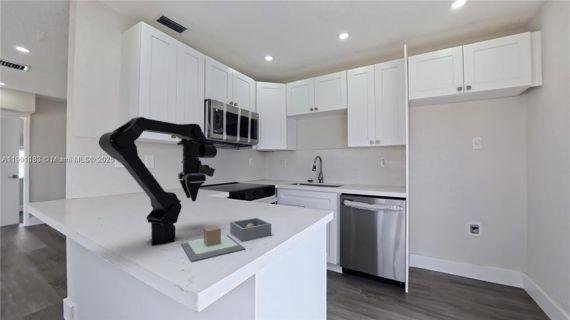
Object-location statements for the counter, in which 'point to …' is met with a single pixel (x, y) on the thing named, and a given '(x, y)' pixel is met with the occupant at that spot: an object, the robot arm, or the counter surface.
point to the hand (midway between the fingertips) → (191, 199)
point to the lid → (211, 242)
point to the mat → (194, 258)
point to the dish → (250, 229)
